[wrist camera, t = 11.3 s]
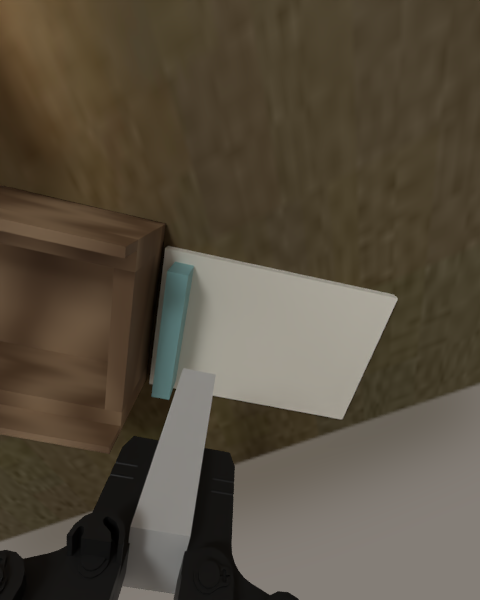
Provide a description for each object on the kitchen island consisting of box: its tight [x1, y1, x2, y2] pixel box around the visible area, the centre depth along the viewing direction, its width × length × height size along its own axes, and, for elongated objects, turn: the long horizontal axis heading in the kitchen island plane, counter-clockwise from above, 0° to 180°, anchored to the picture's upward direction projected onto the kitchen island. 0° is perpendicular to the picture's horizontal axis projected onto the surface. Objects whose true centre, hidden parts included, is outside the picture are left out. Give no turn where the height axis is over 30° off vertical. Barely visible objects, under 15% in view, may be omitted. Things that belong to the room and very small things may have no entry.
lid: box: [149, 246, 398, 419], centre depth 20 cm, size 15×10×3 cm
